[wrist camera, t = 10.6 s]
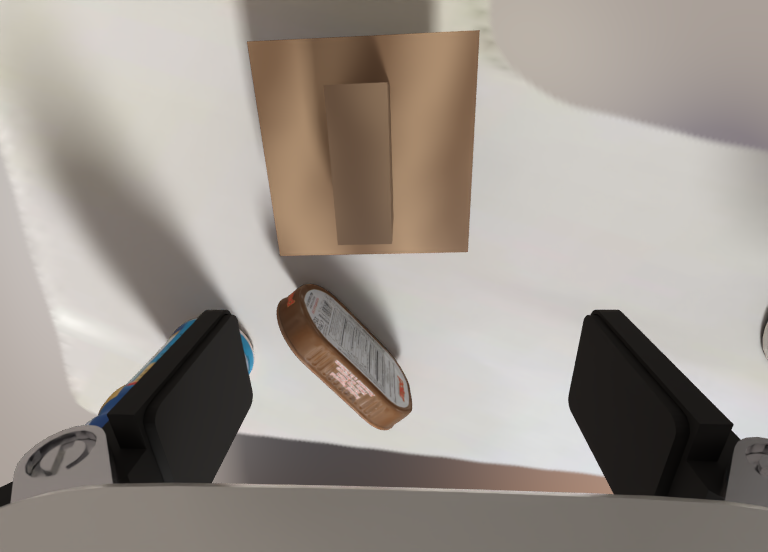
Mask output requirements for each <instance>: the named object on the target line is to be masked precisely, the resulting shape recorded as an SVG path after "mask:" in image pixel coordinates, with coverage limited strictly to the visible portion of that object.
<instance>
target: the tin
mask: <svg viewBox="0 0 768 552" xmlns="http://www.w3.org/2000/svg"><path fill="white" fill-rule="evenodd" d="M277 320H278V325H279V328H280V331H281V333H282V335H283V337H284V339H285V341H286V342H287V344H288V346H289V347H290V349H291V350H292V351H293V353H294V354H295V355H296V356H297V358H298V359H299V360H300V361H301V362H302V363H303V364H304V365H305V366H306V367H307V368H309V369H310V370H311V371H312V372H313V373H314V374H315V375H316V376H317V377H318V378H320V379H321V380H322V381H323V382H324V383H325V384H326V385H327V386H328V387H329V388H330V389H332V390H333V391H334V392H335V393H336V394H337V395H338V396H339V397H340V398H341V399H342V400H343V401H345V402H346V403H347V404H348V405H349V406H350V407H351V408H352V409H353V410H354V411H355V412H356V413H357V414H358V415H359V416H360V417H362V418H363V419H364V420H365V421H366V422H367V423H369V424H370V425H371V426H373V427H375V428H377V429H380V430H389V429H390V428H392V427H393V426H394V424H396V423H397V422H399V421H400V420H402V419H403V418H405V417H406V416H407V415H408V414H409V413H410V412H411V411H412V399H411V393H410V387H409V383H408V381H407V378H406V376H405V374H404V373H403V371H402V369H401V367H400V366H399V364H398V363H397V361H396V360H395V359H394V357H393V356H392V355H391V354H390V353H389V351H388V350H387V349H386V348H385V347H384V346H383V345H382V344H381V343H380V342H379V341H378V340H377V339H376V338H375V337H374V336H373V335H372V334H371V333H370V332H369V331H368V330H367V328H366V327H365V326H364V325H363V324H362V323H361V322H360V321H359V320H358V319H357V318H356V317H355V316H354V315H353V314H352V313H351V312H350V311H349V310H348V309H347V308H346V307H345V306H344V305H343V304H342V303H341V302H340V301H339V300H338V299H337V298H336V297H335V296H333V295H332V294H331V293H330V292H328V291H327V290H325V289H324V288H322V287H320V286H317V285H314V284H305V285H303V286H301V287H299V288H298V289H296V290H295V291H294V292H293V293H292V294H290V295H289V296H288V297H286V298H284V299H282V300H281V301H280V302H279V304H278V307H277Z"/></svg>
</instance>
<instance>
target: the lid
mask: <svg viewBox="0 0 768 552" xmlns="http://www.w3.org/2000/svg"><path fill="white" fill-rule="evenodd" d="M479 31H480V30H477V31H457V32H436V33H415V34H394V35H374V36H353V37H332V38H312V39H291V40H270V41H249V42H247V45H248V51H249V58H250V64H251V71H252V77H253V84H254V90H255V97H256V103H257V109H258V116H259V122H260V129H261V135H262V142H263V148H264V155H265V161H266V167H267V174H268V180H269V187H270V193H271V200H272V206H273V213H274V219H275V225H276V232H277V238H278V245H279V251H280V256H298V255H347V254H395V253H444V252H468V238H469V219H470V201H471V182H472V163H473V144H474V125H475V107H476V88H477V69H478V50H479Z"/></svg>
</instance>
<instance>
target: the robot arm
mask: <svg viewBox="0 0 768 552" xmlns="http://www.w3.org/2000/svg"><path fill="white" fill-rule="evenodd" d="M763 350H764V353H765V357H766V358H767V360H768V322H767V324H766V326H765V330H764V335H763ZM252 399H253V393H252V387H251V383H250V378H249V373H248V368H247V363H246V359H245V354H244V349H243V344H242V339H241V335H240V330H239V325H238V320H237V318H236V316H235V315H231V313H230V312H229V311H228V310H206V311H204V312H203V313H202V314H201V315H200V316H199V317H198V318H197V319H196V320H195V322H194V323H193V324H192V325H191V326H190V327H189V328H188V329H187V330H186V331H185V332H184V333H183V334H182V335H181V336H180V337H179V338H178V339H177V341H176V342H175V343H174V344H173V345H172V346H171V347H170V348H169V349H168V350H167V351H166V352H165V353H164V354H163V355H162V356H161V357H160V358H159V359H158V361H157V362H156V363H155V364H154V365H153V366H152V367H151V368H150V369H149V370H148V371H147V372H146V373H145V374H144V375H143V376H142V377H141V378H140V379H139V381H138V382H137V383H136V384H135V385H134V386H133V387H132V388H131V389H130V390H129V391H128V392H127V393H126V394H125V395H124V396H123V397H122V398H121V399H120V401H119V402H118V403H117V404H116V405H115V406H114V407H113V408H112V409H111V410H110V411H109V412H108V413H107V417H108V419H109V421H108V422H107V423H106V424H105V425H104V426H103V427H102V428H100V427H98V426H94V425H82V426H75V427H72V428H69V429H65V430H62V431H60V432H58V433H56V434H54V435H52V436H49V437H47V438H46V439H44V440H43V441H41V442H40V443H38V444H37V445H35V446H34V447H33V448H32V449H30V450H29V451H28V452H27V453H26V454H25V455H24V456H23V457H22V459H21V460H20V461H19V463H18V464H17V466H16V469H15V472H14V478H13V482H11V483H9V484H7V485H5V486H2V487H0V552H768V439H767V438H761V437H749V438H744V439H742V440H740V439H739V438H738V437H737V436H736V435H735V433H734V432H733V431H732V430H731V429H732V427H733V425H734V424H733V423H732V422H731V421H730V420H729V419H728V418H727V417H726V416H725V415H724V414H723V413H722V412H721V411H720V410H719V409H718V408H717V407H716V406H715V405H714V404H713V403H712V402H711V401H710V400H709V399H708V398H707V397H706V396H705V395H704V394H703V393H702V392H701V391H700V390H699V389H698V388H697V387H696V386H695V385H694V384H693V383H692V382H691V381H690V380H689V379H688V378H687V377H686V376H685V375H684V374H683V373H682V372H681V371H680V370H679V369H678V368H677V367H676V366H675V365H674V364H673V363H672V362H671V361H670V360H669V359H668V358H667V357H666V356H665V355H664V354H663V353H662V352H661V351H660V350H659V349H658V348H657V347H656V346H655V345H654V344H653V343H652V342H651V341H650V340H649V339H648V338H647V337H646V336H645V335H644V334H643V333H642V332H641V331H640V330H639V329H638V328H637V327H636V326H635V325H634V324H633V323H632V322H631V321H630V320H629V319H628V318H627V317H626V316H625V315H624V314H623V313H622V312H621V311H620V310H594V311H593V312H592V313H591V315H587V316H586V317H585V318H584V321H583V326H582V331H581V336H580V341H579V346H578V351H577V356H576V361H575V366H574V371H573V376H572V381H571V386H570V391H569V397H568V402H569V407H570V410H571V413H572V414H573V416H574V418H575V420H576V422H577V424H578V426H579V428H580V430H581V432H582V434H583V436H584V438H585V440H586V441H587V443H588V445H589V447H590V449H591V451H592V453H593V455H594V457H595V459H596V461H597V463H598V465H599V466H600V468H601V470H602V472H603V474H604V476H605V478H606V480H607V482H608V484H609V486H610V488H611V489H612V491H613V493H614V494H594V493H563V492H531V491H502V490H471V489H468V490H467V489H436V488H400V487H397V488H396V487H361V486H360V487H359V486H321V485H320V486H319V485H318V486H317V485H273V484H272V485H270V484H226V483H212V481H213V479H214V477H215V475H216V473H217V471H218V469H219V467H220V466H221V464H222V462H223V459H224V458H225V456H226V454H227V452H228V450H229V448H230V446H231V444H232V442H233V440H234V438H235V436H236V434H237V432H238V430H239V428H240V426H241V424H242V422H243V420H244V418H245V416H246V414H247V412H248V410H249V409H250V406H251V404H252Z"/></svg>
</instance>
